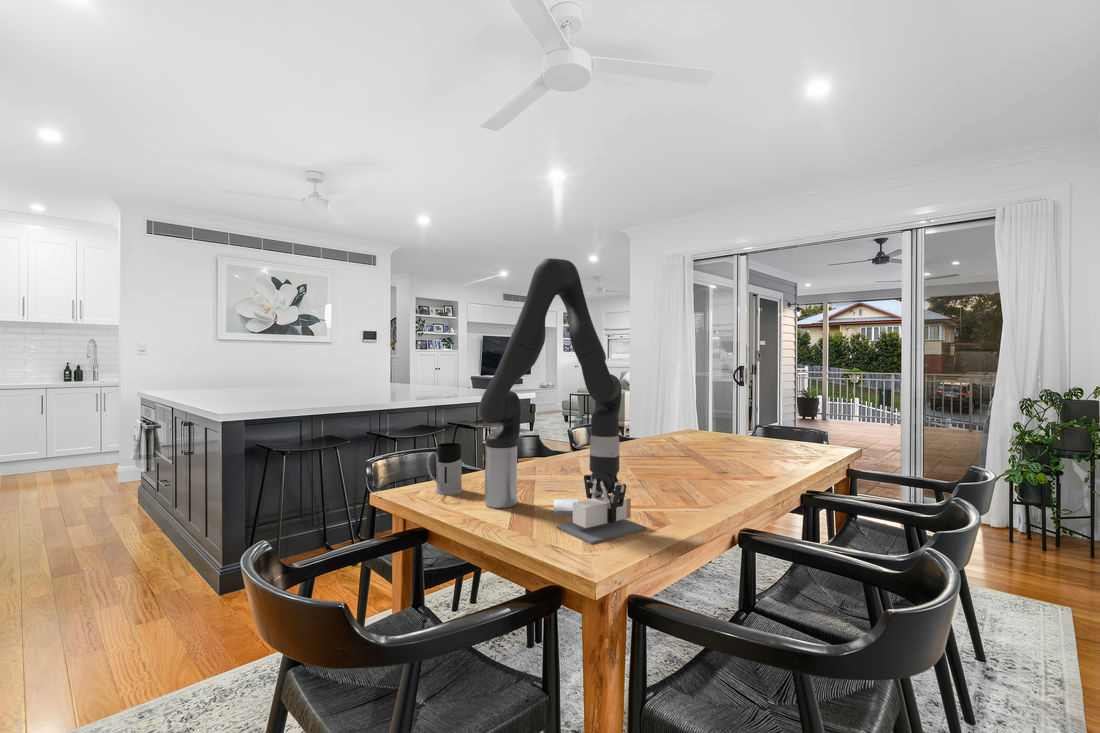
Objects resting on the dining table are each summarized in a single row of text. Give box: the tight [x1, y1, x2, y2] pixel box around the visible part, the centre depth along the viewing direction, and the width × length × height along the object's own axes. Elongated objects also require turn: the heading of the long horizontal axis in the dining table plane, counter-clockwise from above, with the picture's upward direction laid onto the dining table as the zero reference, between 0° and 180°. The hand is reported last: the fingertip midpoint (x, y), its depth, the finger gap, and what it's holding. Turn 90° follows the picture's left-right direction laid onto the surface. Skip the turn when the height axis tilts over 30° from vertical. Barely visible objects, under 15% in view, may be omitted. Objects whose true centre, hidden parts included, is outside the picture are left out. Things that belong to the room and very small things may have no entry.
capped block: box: [572, 496, 632, 528], centre depth 129 cm, size 5×5×15 cm
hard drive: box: [552, 498, 581, 516], centre depth 146 cm, size 2×8×12 cm
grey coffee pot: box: [426, 442, 464, 496], centre depth 162 cm, size 9×14×15 cm, turn 150°
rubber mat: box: [555, 518, 648, 545], centre depth 129 cm, size 14×18×1 cm
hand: (604, 519), depth 129 cm, fingers closed on capped block, 5 cm apart
